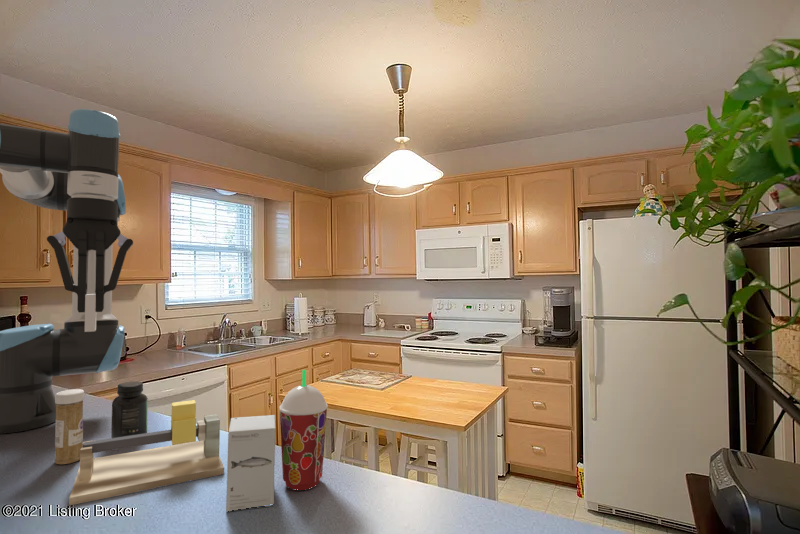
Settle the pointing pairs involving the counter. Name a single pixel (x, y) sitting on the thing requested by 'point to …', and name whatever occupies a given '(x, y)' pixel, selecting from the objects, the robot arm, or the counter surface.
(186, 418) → the sleeve
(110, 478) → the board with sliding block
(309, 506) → the counter surface
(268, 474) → the supplement box
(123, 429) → the supplement bottle
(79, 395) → the sprinkles bottle
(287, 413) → the smoothie
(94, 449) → the gray square bar
